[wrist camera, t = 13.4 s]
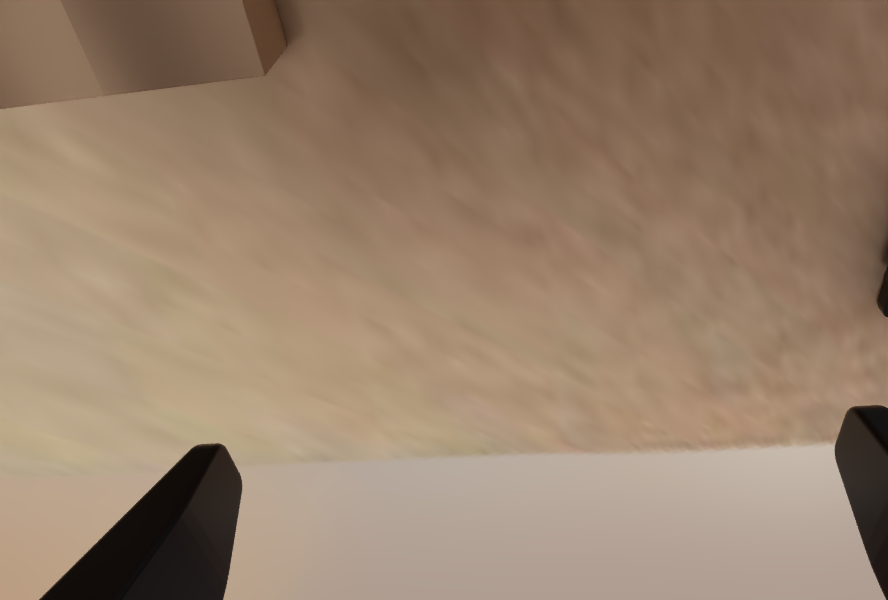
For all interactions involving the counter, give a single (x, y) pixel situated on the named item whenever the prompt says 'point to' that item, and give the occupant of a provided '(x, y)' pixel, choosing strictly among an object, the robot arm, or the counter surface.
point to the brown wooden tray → (130, 46)
